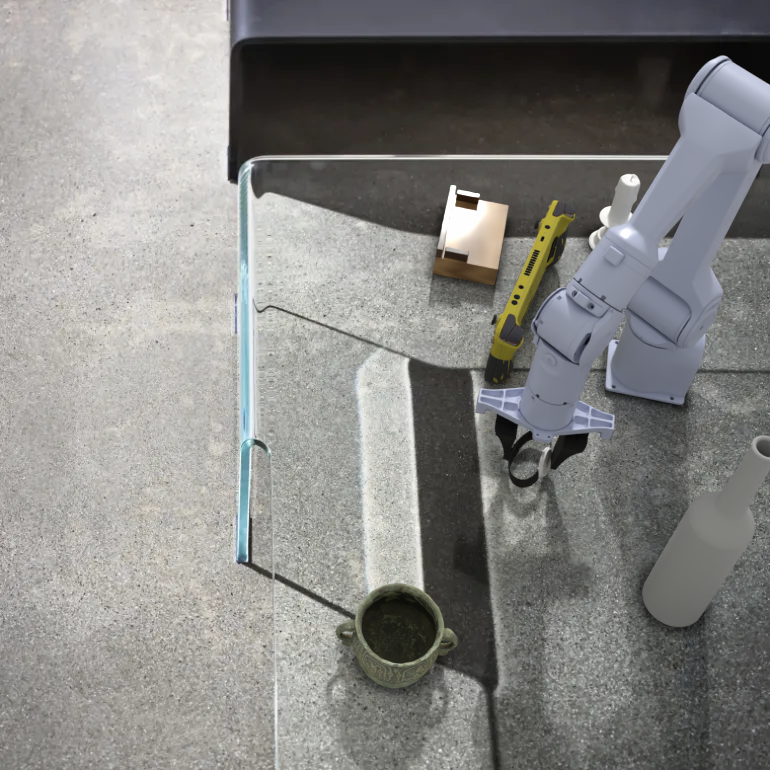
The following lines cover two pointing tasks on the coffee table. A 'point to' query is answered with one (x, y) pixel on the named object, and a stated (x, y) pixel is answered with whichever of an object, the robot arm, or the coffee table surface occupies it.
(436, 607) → the vessel
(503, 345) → the yellow power tool
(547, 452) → the watch
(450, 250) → the shelf
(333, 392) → the coffee table surface
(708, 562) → the bottle
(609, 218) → the candle
